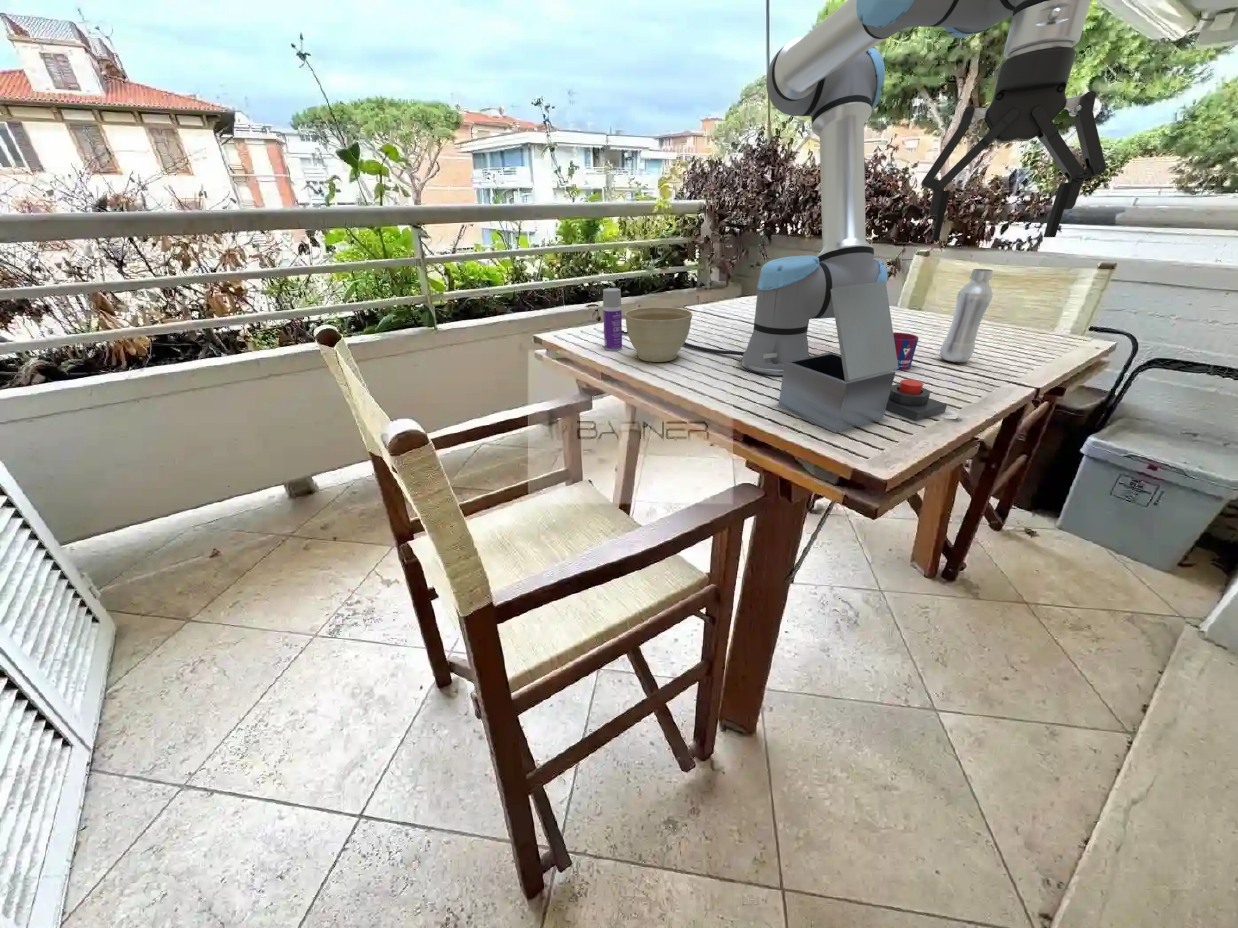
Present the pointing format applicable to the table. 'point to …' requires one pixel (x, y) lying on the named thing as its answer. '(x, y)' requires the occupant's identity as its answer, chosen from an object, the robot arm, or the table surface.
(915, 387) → the button
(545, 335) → the table surface
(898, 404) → the button base
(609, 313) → the container
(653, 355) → the planter bowl
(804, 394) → the tin
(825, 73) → the robot arm
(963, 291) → the silver metal bottle
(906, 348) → the mug
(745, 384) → the table surface
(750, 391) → the table surface
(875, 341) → the lid
